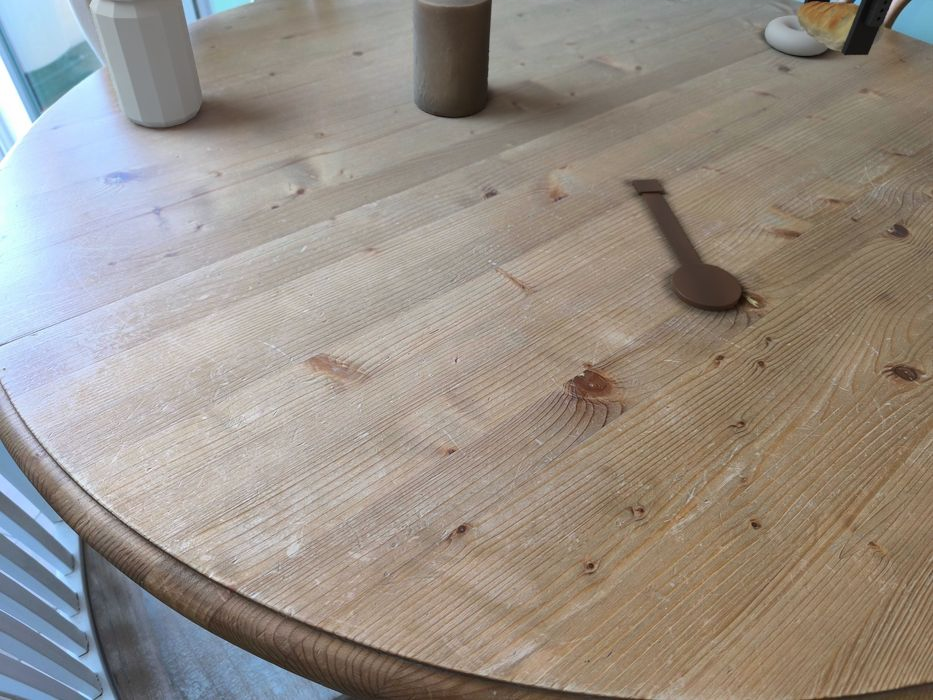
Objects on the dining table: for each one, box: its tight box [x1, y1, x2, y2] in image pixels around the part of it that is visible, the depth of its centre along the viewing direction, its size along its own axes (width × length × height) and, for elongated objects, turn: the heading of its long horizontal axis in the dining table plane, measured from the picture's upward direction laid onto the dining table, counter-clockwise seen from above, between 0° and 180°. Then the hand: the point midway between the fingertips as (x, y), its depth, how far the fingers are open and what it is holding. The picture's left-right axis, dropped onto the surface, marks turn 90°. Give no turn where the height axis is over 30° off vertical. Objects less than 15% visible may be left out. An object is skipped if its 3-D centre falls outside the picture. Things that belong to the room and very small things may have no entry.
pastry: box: [796, 1, 885, 52], centre depth 83 cm, size 9×7×4 cm
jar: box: [88, 0, 204, 128], centre depth 87 cm, size 10×10×18 cm
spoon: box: [631, 178, 742, 312], centre depth 76 cm, size 6×22×2 cm, turn 8°
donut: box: [764, 15, 829, 57], centre depth 115 cm, size 10×4×10 cm
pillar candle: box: [412, 0, 493, 118], centre depth 93 cm, size 10×10×15 cm
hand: (832, 34), depth 84 cm, fingers closed on pastry, 10 cm apart
